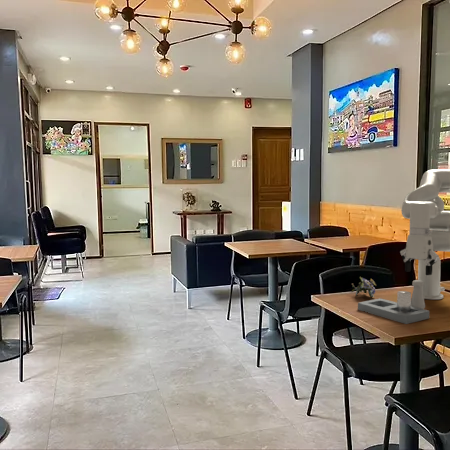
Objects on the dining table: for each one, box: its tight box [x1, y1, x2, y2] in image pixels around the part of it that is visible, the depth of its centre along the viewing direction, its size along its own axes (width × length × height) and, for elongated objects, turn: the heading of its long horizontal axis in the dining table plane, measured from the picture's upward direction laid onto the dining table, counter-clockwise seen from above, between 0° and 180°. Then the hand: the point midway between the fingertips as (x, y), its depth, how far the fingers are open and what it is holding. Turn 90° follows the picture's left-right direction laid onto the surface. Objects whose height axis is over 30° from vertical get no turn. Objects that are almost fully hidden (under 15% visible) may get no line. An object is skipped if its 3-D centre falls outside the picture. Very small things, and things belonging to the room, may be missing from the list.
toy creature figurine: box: [351, 276, 377, 298], centre depth 210 cm, size 11×11×12 cm
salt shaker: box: [411, 279, 426, 310], centre depth 185 cm, size 6×6×13 cm
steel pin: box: [396, 290, 412, 314], centre depth 177 cm, size 5×5×10 cm
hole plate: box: [357, 297, 430, 325], centre depth 182 cm, size 14×24×3 cm, turn 30°
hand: (418, 273), depth 184 cm, fingers open, 9 cm apart
